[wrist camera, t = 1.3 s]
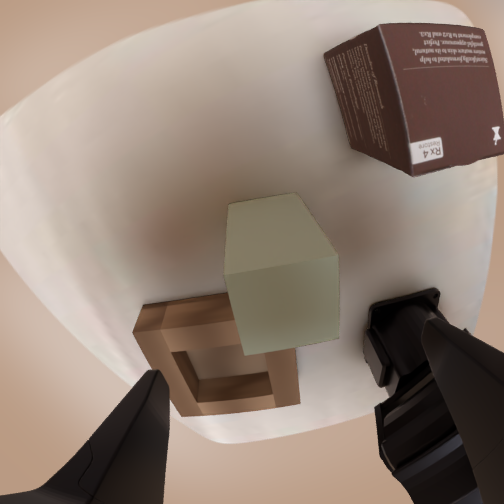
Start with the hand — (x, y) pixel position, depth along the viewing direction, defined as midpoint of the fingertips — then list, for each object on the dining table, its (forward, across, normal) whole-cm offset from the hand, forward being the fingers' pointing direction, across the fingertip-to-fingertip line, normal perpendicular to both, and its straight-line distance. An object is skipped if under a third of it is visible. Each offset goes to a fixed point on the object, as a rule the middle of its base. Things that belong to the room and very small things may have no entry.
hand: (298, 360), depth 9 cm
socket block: (+10, +5, +9) cm, 14 cm away
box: (+11, -8, -8) cm, 15 cm away
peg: (+10, 0, 0) cm, 10 cm away
